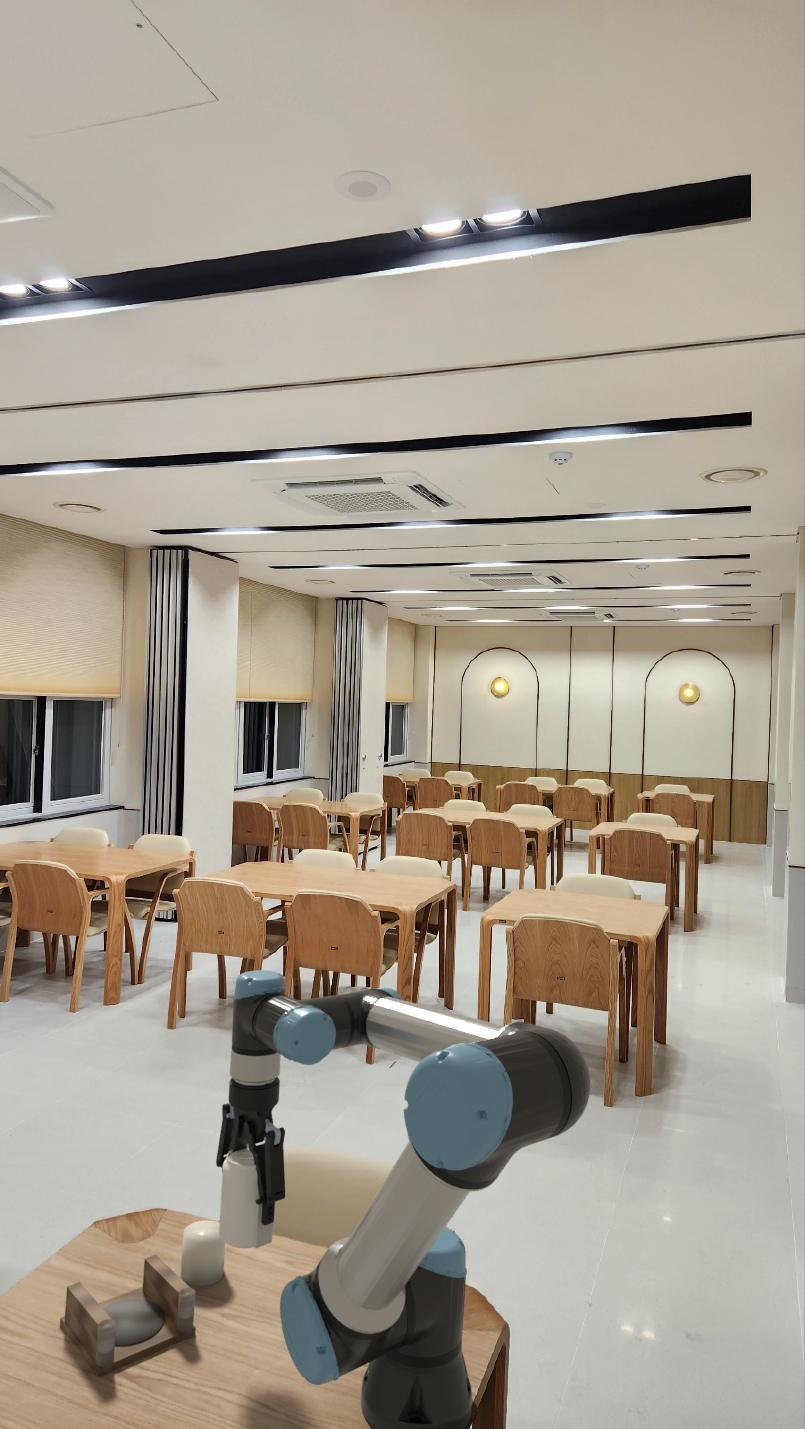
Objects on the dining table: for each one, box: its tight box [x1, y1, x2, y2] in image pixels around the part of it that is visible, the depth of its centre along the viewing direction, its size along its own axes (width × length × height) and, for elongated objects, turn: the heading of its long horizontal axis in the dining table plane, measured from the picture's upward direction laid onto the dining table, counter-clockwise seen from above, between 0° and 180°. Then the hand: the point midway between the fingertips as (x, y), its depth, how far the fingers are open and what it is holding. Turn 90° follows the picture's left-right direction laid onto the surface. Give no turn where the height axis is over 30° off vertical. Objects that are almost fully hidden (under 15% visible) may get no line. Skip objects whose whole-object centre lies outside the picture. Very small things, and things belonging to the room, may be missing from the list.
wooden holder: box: [59, 1254, 197, 1377], centre depth 135 cm, size 14×15×6 cm
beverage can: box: [219, 1144, 276, 1249], centre depth 135 cm, size 8×8×12 cm
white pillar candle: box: [180, 1220, 226, 1287], centre depth 151 cm, size 7×7×7 cm
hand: (246, 1231), depth 135 cm, fingers closed on beverage can, 8 cm apart
